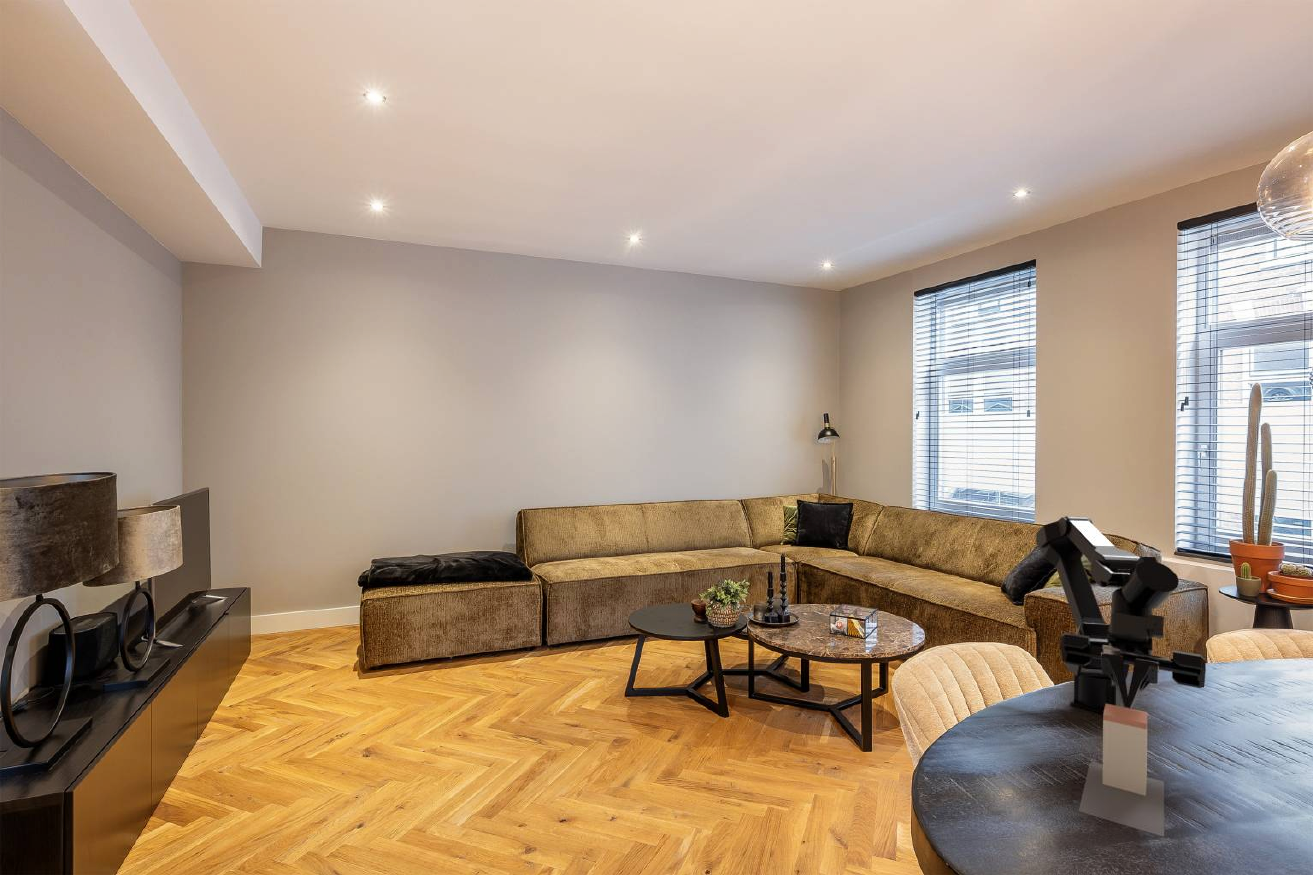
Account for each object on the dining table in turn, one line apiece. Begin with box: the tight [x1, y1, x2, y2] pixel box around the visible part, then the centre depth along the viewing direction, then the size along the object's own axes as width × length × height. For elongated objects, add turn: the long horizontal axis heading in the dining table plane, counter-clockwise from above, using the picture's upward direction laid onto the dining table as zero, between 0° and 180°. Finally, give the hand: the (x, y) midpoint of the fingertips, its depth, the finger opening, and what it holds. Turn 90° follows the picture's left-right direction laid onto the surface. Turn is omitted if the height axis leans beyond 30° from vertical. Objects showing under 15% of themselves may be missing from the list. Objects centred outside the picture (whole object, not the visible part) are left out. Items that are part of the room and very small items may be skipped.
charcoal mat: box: [1078, 762, 1165, 838], centre depth 91 cm, size 17×9×1 cm, turn 142°
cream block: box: [1102, 704, 1148, 796], centre depth 95 cm, size 5×5×10 cm
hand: (1127, 707), depth 101 cm, fingers closed
